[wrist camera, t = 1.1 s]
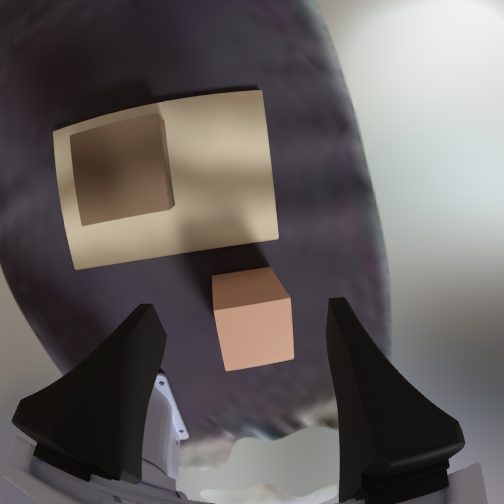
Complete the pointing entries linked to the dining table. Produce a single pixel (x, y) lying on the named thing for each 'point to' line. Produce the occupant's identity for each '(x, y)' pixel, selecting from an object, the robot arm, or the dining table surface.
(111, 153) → the base block
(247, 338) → the top block
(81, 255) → the board
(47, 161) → the dining table surface
